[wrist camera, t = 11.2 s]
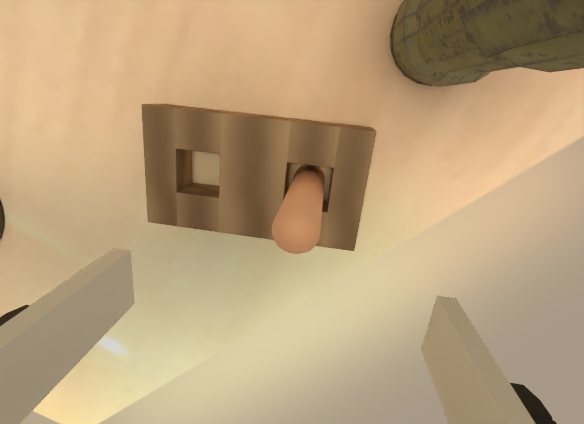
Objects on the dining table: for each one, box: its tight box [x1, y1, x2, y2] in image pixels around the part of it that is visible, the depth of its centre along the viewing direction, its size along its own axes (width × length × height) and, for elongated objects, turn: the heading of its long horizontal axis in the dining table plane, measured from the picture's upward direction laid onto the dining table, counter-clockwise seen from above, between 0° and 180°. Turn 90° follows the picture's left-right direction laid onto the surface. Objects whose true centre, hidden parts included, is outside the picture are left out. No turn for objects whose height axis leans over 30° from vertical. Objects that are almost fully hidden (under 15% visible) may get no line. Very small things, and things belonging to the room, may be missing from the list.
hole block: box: [142, 104, 376, 251], centre depth 34 cm, size 22×12×4 cm, turn 84°
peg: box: [272, 164, 324, 254], centre depth 28 cm, size 3×3×15 cm
